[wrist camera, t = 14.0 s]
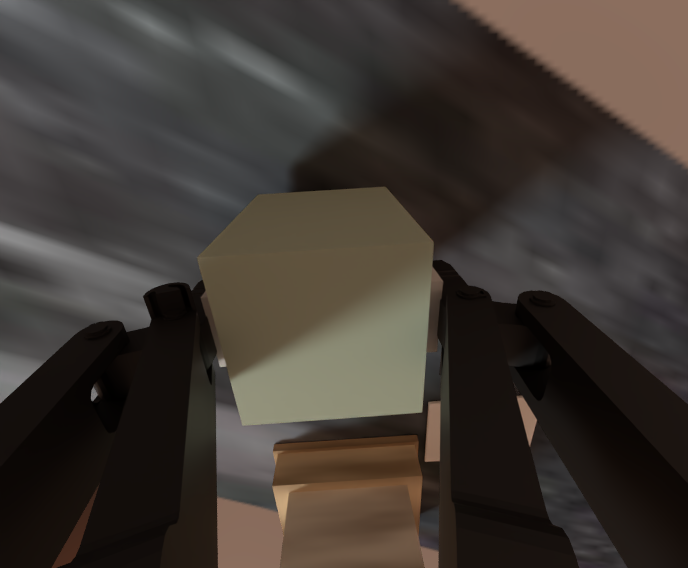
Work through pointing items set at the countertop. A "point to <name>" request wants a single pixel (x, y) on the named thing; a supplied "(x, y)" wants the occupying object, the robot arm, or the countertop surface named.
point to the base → (347, 467)
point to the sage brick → (322, 305)
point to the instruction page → (434, 427)
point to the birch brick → (351, 529)
